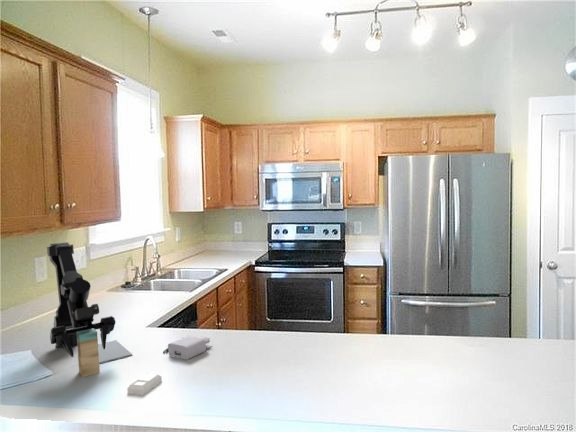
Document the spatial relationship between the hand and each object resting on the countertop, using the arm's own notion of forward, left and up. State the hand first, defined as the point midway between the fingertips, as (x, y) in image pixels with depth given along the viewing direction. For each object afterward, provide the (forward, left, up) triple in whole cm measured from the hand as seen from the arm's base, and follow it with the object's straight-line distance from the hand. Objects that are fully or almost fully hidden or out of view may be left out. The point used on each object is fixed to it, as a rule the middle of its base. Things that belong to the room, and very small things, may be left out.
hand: (88, 352), depth 132 cm
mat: (-9, +16, -7) cm, 20 cm away
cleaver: (+10, +29, -7) cm, 31 cm away
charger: (+21, +25, -7) cm, 34 cm away
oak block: (-1, +1, -7) cm, 7 cm away
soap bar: (+24, -3, -7) cm, 25 cm away
